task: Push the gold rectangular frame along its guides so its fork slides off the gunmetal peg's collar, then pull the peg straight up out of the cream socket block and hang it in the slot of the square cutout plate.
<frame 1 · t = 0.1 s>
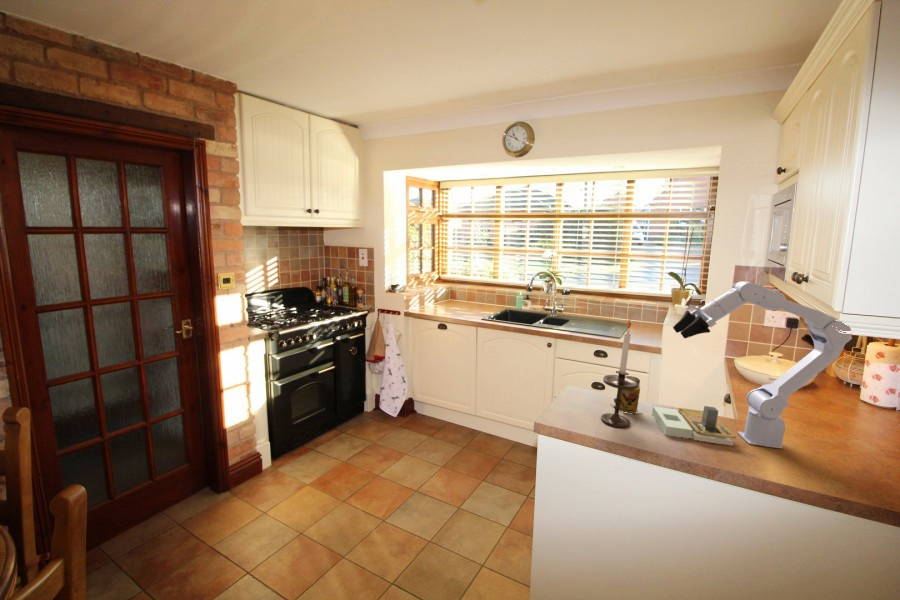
hand: (678, 332, 136), 32 cm above the countertop, tool tilted 50°, fingers open, 7 cm apart
square cutout plate: (670, 426, 143), on the countertop
gold rectangular frame: (705, 423, 140), point 3 cm above the countertop, slide at 0.0 cm
socket block: (706, 434, 138), on the countertop
peg: (706, 434, 138), on the countertop
candlestick: (615, 422, 143), on the countertop
condiment: (626, 409, 155), on the countertop
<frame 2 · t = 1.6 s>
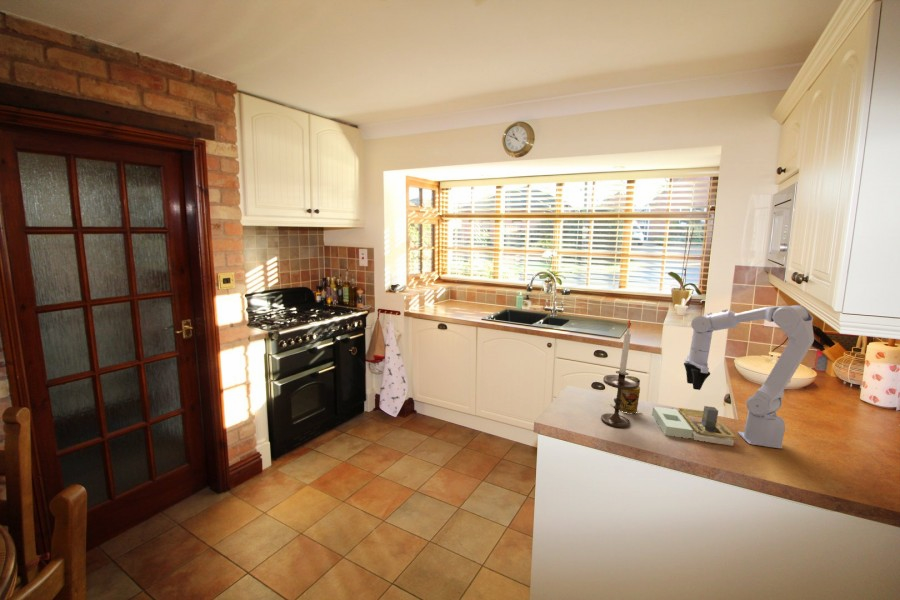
hand: (693, 386, 152), 10 cm above the countertop, tool pointing down, fingers open, 5 cm apart
nothing on the countertop moved.
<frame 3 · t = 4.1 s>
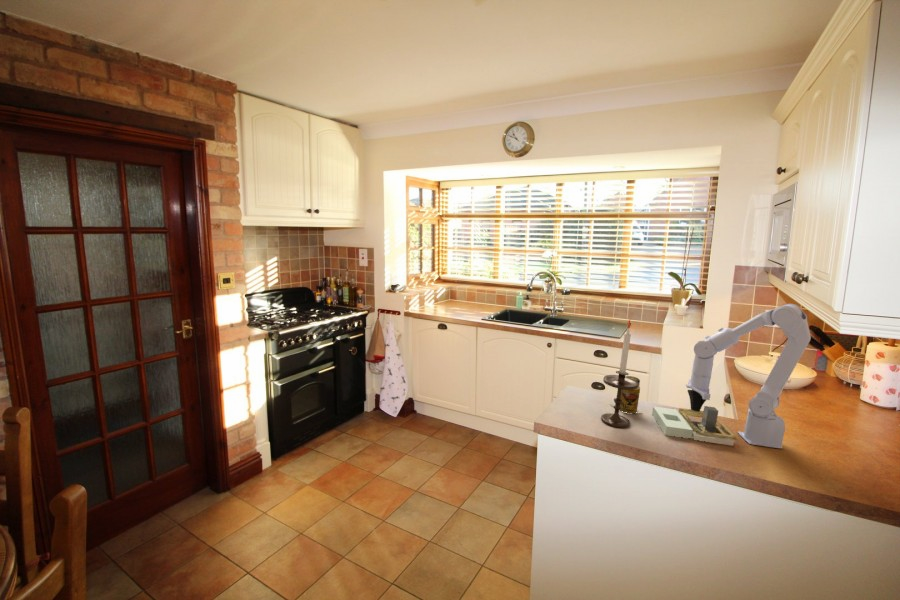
hand: (694, 411, 149), 3 cm above the countertop, tool pointing down, fingers closed
gold rectangular frame: (705, 423, 140), point 3 cm above the countertop, slide at 0.1 cm, touching gripper
everything else where it was.
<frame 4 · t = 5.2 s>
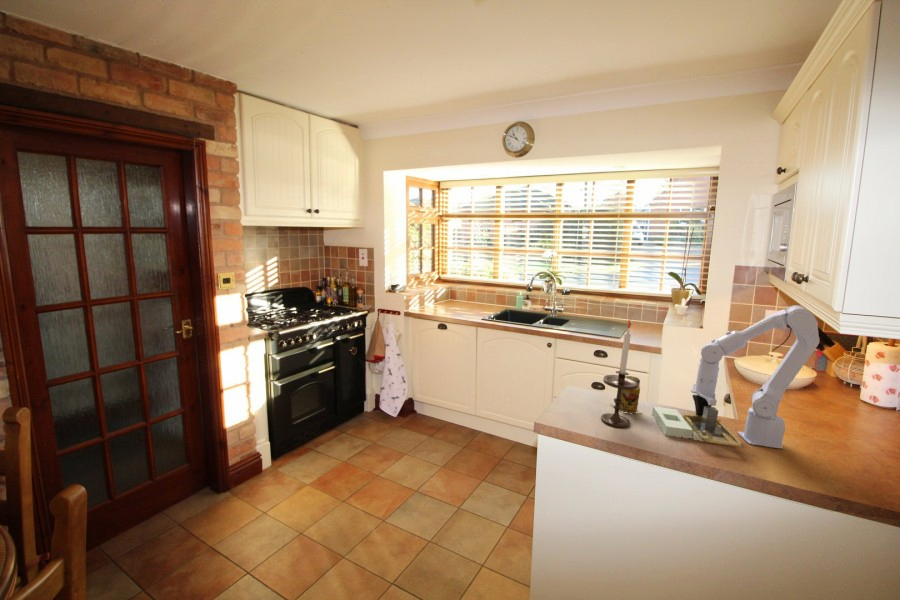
hand: (700, 417, 144), 3 cm above the countertop, tool pointing down, fingers closed
gold rectangular frame: (711, 430, 135), point 3 cm above the countertop, slide at 5.0 cm, touching gripper
everything else where it was.
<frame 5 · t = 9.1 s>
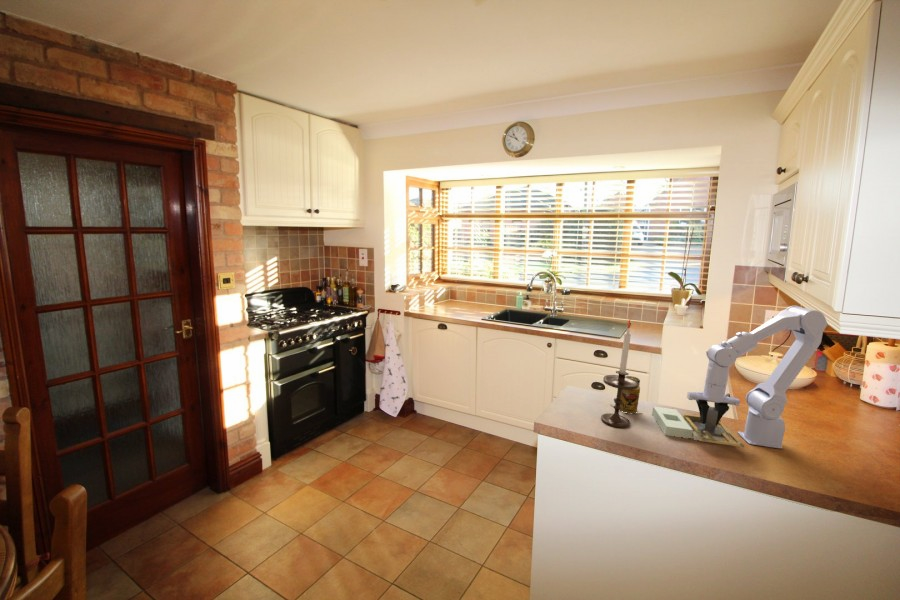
hand: (708, 423, 137), 4 cm above the countertop, tool pointing down, fingers closed on peg, 3 cm apart
gold rectangular frame: (711, 430, 135), point 3 cm above the countertop, slide at 5.2 cm
peg: (706, 434, 138), on the countertop, touching gripper
everything else where it was.
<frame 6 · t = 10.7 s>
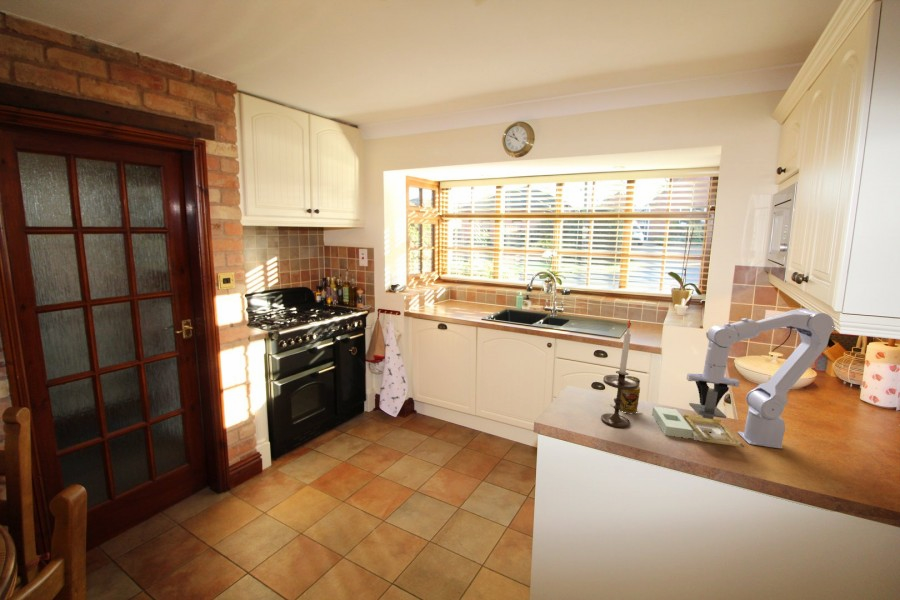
hand: (708, 404, 137), 10 cm above the countertop, tool pointing down, fingers closed on peg, 3 cm apart
peg: (706, 416, 137), point 6 cm above the countertop, touching gripper
everything else where it was.
when the fingers open (6 cm above the countertop, at t = 12.6 s): peg stays where it is, resting on square cutout plate.
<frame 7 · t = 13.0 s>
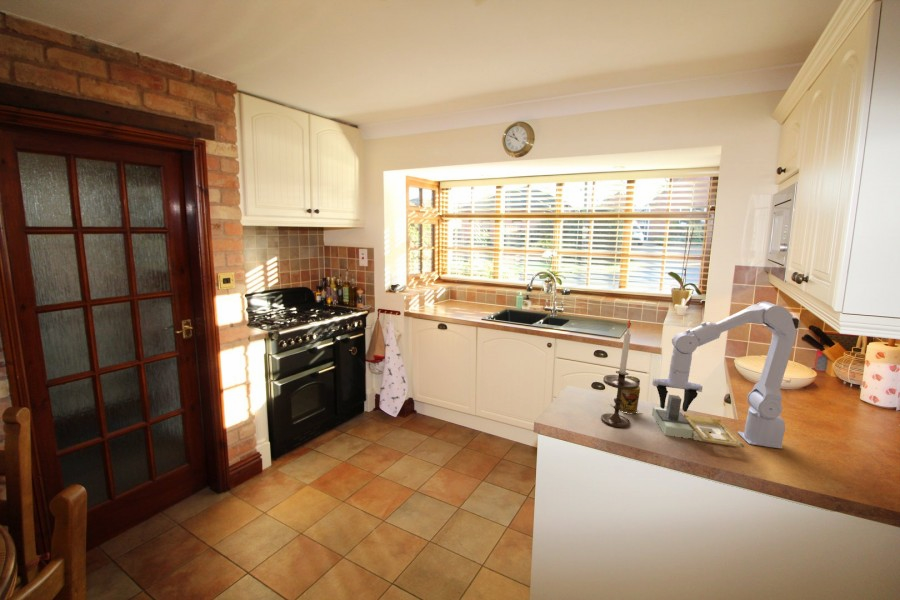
hand: (673, 409, 142), 6 cm above the countertop, tool pointing down, fingers open, 6 cm apart
peg: (670, 422, 143), point 1 cm above the countertop, touching square cutout plate
everything else where it was.
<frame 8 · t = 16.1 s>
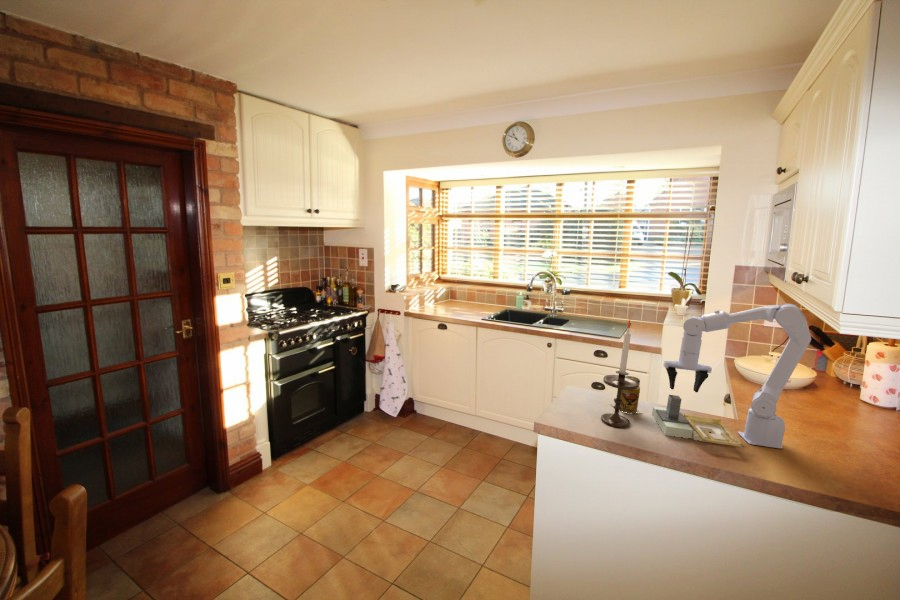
hand: (683, 389, 148), 10 cm above the countertop, tool pointing down, fingers open, 7 cm apart
nothing on the countertop moved.
at the end: gold rectangular frame slide at 5.2 cm; peg 0.1 cm off-centre on the square cutout plate, point 1.2 cm above the square cutout plate's base; peg tilted 0° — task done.
